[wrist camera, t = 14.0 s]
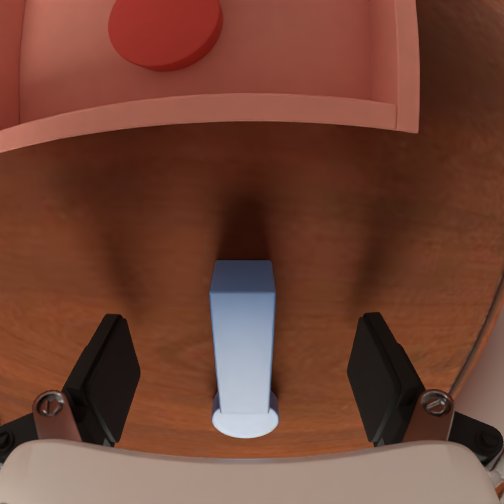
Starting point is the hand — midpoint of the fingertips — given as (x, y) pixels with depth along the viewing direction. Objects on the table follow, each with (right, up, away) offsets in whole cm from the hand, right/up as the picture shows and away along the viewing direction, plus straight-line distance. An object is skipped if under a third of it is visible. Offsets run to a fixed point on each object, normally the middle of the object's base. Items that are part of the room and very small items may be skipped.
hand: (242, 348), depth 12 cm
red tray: (-2, +14, -5) cm, 15 cm away
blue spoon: (0, -1, +2) cm, 2 cm away
